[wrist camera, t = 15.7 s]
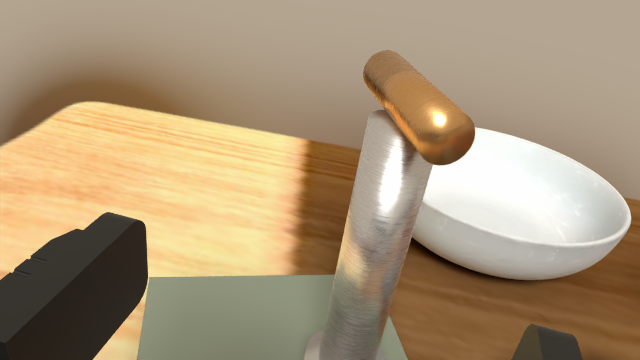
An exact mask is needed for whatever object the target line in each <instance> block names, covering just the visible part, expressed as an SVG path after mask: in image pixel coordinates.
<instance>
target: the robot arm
mask: <svg viewBox="0 0 640 360" xmlns="http://www.w3.org/2000/svg"><path fill="white" fill-rule="evenodd" d="M147 281H148V266H147V243H146V227H145V224H144V223H143V222H142V221H140V220H137V219H133V218H129V217H125V216H122V215H118V214H114V213H110V212H107V213H104V214H103V215H101V216H100V217H99V218H97V219H96V220H95V221H94V222H93V223H91V224H90V225H89V226H88V227H87V228H85V229H84V230H80V229H75V230H73V231H70V232H68V233H66V234H64V235H61V236H59V237H57V238H54V239H52V240H50V241H49V242H48V243H46V244H45V245H44V246H43V247H41V248H40V249H39V250H38V251H36V252H35V253H34V254H33V255H31V258H30V259H26V260H25V261H24V262H23V263H21V264H20V265H19V266H18V267H16V268H15V269H14V272H13V273H9V274H7V275H6V276H5V277H4V278H2V279H1V280H0V360H93V358H94V357H95V356H96V355H97V353H98V352H99V351H100V350H101V349H102V347H103V346H104V345H105V344H106V343H107V341H108V340H109V339H110V338H111V336H112V335H113V334H114V333H115V332H116V330H117V329H118V328H119V327H120V326H121V324H122V323H123V322H124V321H125V319H126V318H127V317H128V316H129V315H130V313H131V312H132V311H133V310H134V309H135V307H136V306H137V305H138V303H139V302H140V300H141V298H142V297H143V294H144V292H145V289H146V286H147ZM512 360H582V356H581V353H580V350H579V346H578V343H577V340H576V338H575V337H574V336H573V335H572V334H568V333H564V332H560V331H557V330H553V329H549V328H546V327H542V326H538V325H534V324H531V325H529V326H528V327H527V329H526V330H525V332H524V334H523V337H522V339H521V341H520V343H519V345H518V347H517V349H516V351H515V353H514V355H513V358H512Z"/></svg>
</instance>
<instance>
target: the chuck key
mask: <svg viewBox="0 0 640 360" xmlns="http://www.w3.org/2000/svg"><path fill="white" fill-rule="evenodd" d="M363 78H364V82H365V84H366V85H367V87H368V88H369V90H370V91H371V92H372V93H373V95H374V96H375V97H376V98H377V100H378V101H379V102H380V104H381V105H382V106H383V107H384V109H385V110H378V111H375V112H372V113H371V114H370V115H369V117H368V122H367V127H366V131H365V136H364V141H363V146H362V150H361V155H360V159H359V164H358V169H357V173H356V178H355V183H354V188H353V192H352V197H351V202H350V206H349V211H348V216H347V220H346V225H345V230H344V235H343V239H342V244H341V249H340V253H339V258H338V263H337V268H336V272H335V277H334V282H333V286H332V291H331V296H330V300H329V305H328V310H327V315H326V319H325V324H324V329H322V330H320V331H318V332H317V333H315V334H314V335H313V336H312V337H311V338H310V340H309V342H308V344H307V346H306V351H305V356H304V360H386V357H385V354H384V352H383V350H382V348H381V347H380V343H381V339H382V336H383V333H384V329H385V326H386V322H387V319H388V316H389V312H390V309H391V305H392V302H393V299H394V295H395V292H396V288H397V285H398V282H399V278H400V275H401V271H402V268H403V265H404V261H405V258H406V255H407V251H408V248H409V244H410V241H411V238H412V234H413V231H414V227H415V224H416V221H417V217H418V214H419V210H420V207H421V204H422V200H423V197H424V193H425V190H426V187H427V183H428V180H429V176H430V173H431V170H432V166H433V165H439V166H442V165H448V164H451V163H454V162H456V161H458V160H459V159H461V158H462V157H463V156H464V155H465V154H466V153H467V152H468V151H469V149H470V148H471V146H472V144H473V142H474V139H475V126H474V123H473V122H472V120H471V118H470V117H469V116H467V115H466V114H465V113H464V112H463V111H462V110H461V109H460V108H458V107H457V106H456V105H455V104H454V103H453V102H452V101H451V100H450V99H448V98H447V97H446V96H445V95H444V94H443V93H442V92H441V91H439V90H438V89H437V88H436V87H435V86H434V85H433V84H432V83H430V82H429V81H428V80H427V79H426V78H425V77H424V76H423V75H422V74H420V73H419V72H418V71H417V70H416V69H415V68H414V67H413V66H411V65H410V64H409V63H408V62H407V61H406V60H405V59H404V58H403V57H401V56H400V55H399V54H398V53H396V52H393V51H388V50H387V51H381V52H378V53H376V54H375V55H373V56H372V57H371V58H370V59H369V60H368V62H367V63H366V65H365V68H364V72H363Z"/></svg>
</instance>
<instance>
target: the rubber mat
mask: <svg viewBox="0 0 640 360" xmlns="http://www.w3.org/2000/svg"><path fill="white" fill-rule="evenodd" d="M334 277H335V275H281V276H215V277H149V284H148V290H147V297H146V304H145V310H144V317H143V324H142V330H141V337H140V344H139V350H138V357H137V360H304V356H305V351H306V346H307V344H308V342H309V340H310V338H311V337H312V336H313V335H314V334H315V333H317V332H318V331H320V330H322V329H324V324H325V319H326V315H327V310H328V305H329V300H330V296H331V291H332V286H333V282H334ZM380 347H381V348H382V350H383V352H384V354H385V357H386V360H408V359H407V357H406V354H405V352H404V349H403V347H402V345H401V342H400V340H399V337H398V335H397V333H396V330H395V328H394V326H393V323H392V321H391V318H390V316H388V319H387V322H386V326H385V329H384V333H383V336H382V339H381V343H380Z"/></svg>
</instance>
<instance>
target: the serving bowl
mask: <svg viewBox="0 0 640 360" xmlns="http://www.w3.org/2000/svg"><path fill="white" fill-rule="evenodd" d="M630 223H631V214H630V210H629V207H628V205H627V203H626V202H625V200H624V199H623V197H622V196H621V195H620V194H619V193H618V191H617V190H616V189H615V188H614V187H613V186H612V185H610V184H609V183H608V182H607V181H606V180H604V179H603V178H602V177H601V176H599V175H598V174H597V173H595V172H594V171H592V170H590V169H589V168H587V167H585V166H584V165H582V164H580V163H578V162H577V161H575V160H573V159H571V158H569V157H567V156H565V155H563V154H561V153H558V152H556V151H554V150H551V149H549V148H546V147H544V146H541V145H539V144H536V143H533V142H530V141H527V140H524V139H521V138H518V137H514V136H511V135H508V134H504V133H500V132H496V131H491V130H486V129H481V128H476V127H475V139H474V142H473V144H472V146H471V148H470V149H469V151H468V152H467V153H466V154H465V155H464V156H463V157H462V158H461V159H459V160H458V161H456V162H454V163H451V164H448V165H442V166H439V165H433V166H432V170H431V173H430V176H429V180H428V183H427V187H426V190H425V193H424V197H423V200H422V204H421V207H420V210H419V214H418V217H417V221H416V224H415V227H414V231H413V234H412V237H413V238H414V239H415V240H417V241H418V242H419V243H421V244H422V245H423V246H425V247H426V248H427V249H429V250H431V251H432V252H434V253H436V254H437V255H439V256H441V257H443V258H445V259H447V260H449V261H451V262H453V263H456V264H458V265H461V266H463V267H466V268H468V269H471V270H474V271H477V272H481V273H485V274H488V275H492V276H497V277H502V278H509V279H517V280H545V279H553V278H559V277H564V276H567V275H571V274H574V273H577V272H579V271H582V270H584V269H586V268H588V267H590V266H592V265H594V264H595V263H597V262H598V261H600V260H601V259H602V258H604V257H605V256H606V255H607V254H608V253H609V252H610V251H611V250H612V249H613V248H614V247H615V246H616V245H617V244H618V242H619V241H620V240H621V239H622V237H623V236H624V235H625V234H626V232H627V230H628V229H629V226H630Z"/></svg>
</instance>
